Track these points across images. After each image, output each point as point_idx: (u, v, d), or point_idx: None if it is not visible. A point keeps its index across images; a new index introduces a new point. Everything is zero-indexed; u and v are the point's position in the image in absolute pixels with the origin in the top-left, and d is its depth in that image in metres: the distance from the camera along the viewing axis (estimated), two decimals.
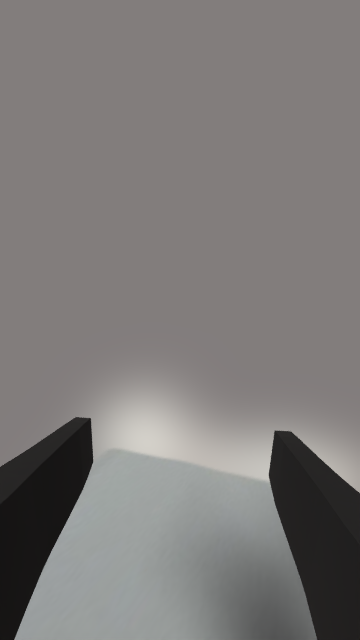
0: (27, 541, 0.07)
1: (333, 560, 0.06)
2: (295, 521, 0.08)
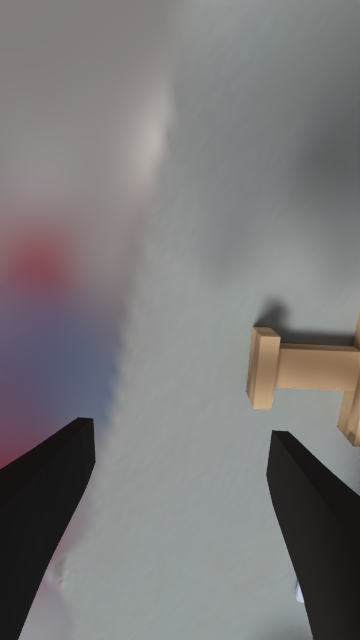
0: (31, 541, 0.07)
1: (329, 560, 0.06)
2: (291, 521, 0.08)
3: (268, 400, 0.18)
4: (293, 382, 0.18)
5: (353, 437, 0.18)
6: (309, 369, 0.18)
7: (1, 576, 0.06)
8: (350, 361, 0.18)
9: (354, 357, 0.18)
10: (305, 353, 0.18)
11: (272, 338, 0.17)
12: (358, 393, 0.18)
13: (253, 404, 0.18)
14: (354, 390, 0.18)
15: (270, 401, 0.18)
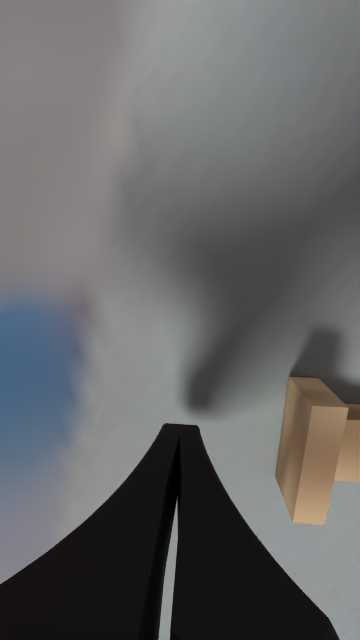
0: (162, 554, 0.07)
1: None
2: (179, 512, 0.08)
3: (320, 511, 0.10)
4: (359, 473, 0.11)
5: None
6: None
7: (156, 592, 0.06)
8: None
9: None
10: None
11: (334, 409, 0.09)
12: None
13: (293, 515, 0.10)
14: None
15: (323, 512, 0.10)
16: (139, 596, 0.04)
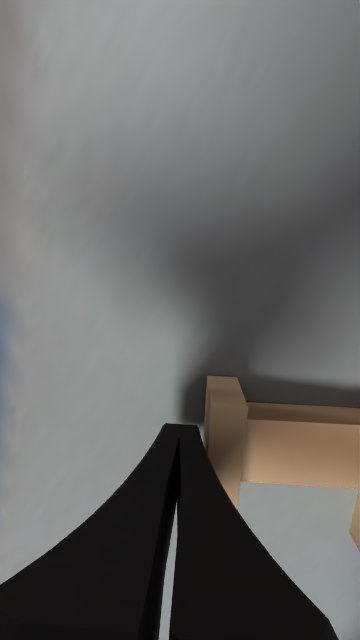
0: (162, 554, 0.07)
1: None
2: (178, 511, 0.08)
3: None
4: (276, 474, 0.10)
5: None
6: (303, 454, 0.10)
7: (157, 592, 0.06)
8: None
9: None
10: (297, 428, 0.10)
11: (233, 408, 0.09)
12: None
13: None
14: None
15: None
16: (140, 596, 0.04)
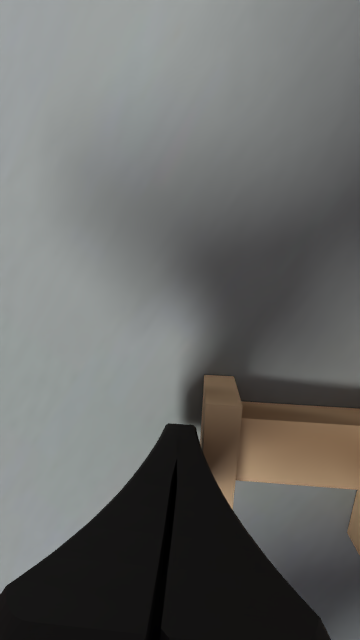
0: (166, 554, 0.07)
1: None
2: (174, 511, 0.08)
3: None
4: (272, 474, 0.10)
5: None
6: (300, 454, 0.10)
7: (161, 592, 0.06)
8: None
9: None
10: (292, 428, 0.10)
11: (228, 407, 0.09)
12: None
13: None
14: None
15: None
16: (147, 596, 0.04)
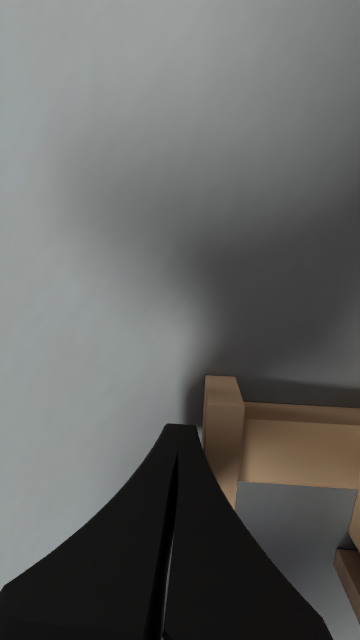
0: (165, 554, 0.07)
1: None
2: None
3: None
4: (274, 474, 0.10)
5: None
6: (301, 454, 0.10)
7: (160, 592, 0.06)
8: None
9: None
10: (294, 428, 0.10)
11: (230, 407, 0.09)
12: None
13: None
14: None
15: None
16: (144, 596, 0.04)
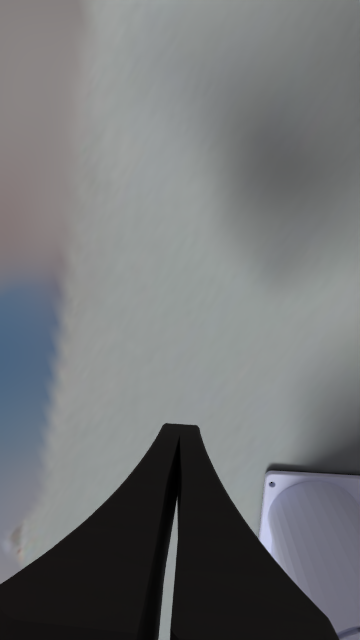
0: (162, 554, 0.07)
1: None
2: (179, 512, 0.08)
3: None
4: None
5: None
6: None
7: (156, 592, 0.06)
8: None
9: None
10: None
11: None
12: None
13: None
14: None
15: None
16: (139, 596, 0.04)
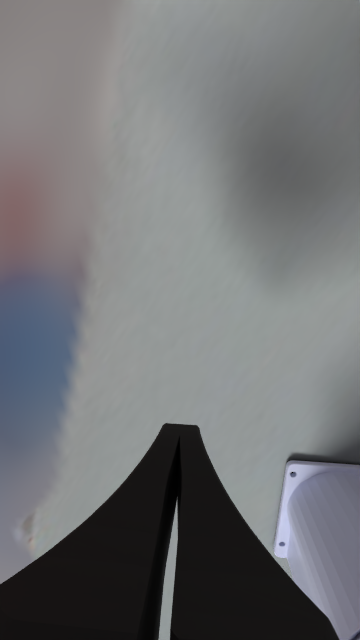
0: (162, 554, 0.07)
1: None
2: (179, 511, 0.08)
3: None
4: None
5: None
6: None
7: (156, 591, 0.06)
8: None
9: None
10: None
11: None
12: None
13: None
14: None
15: None
16: (139, 595, 0.04)
